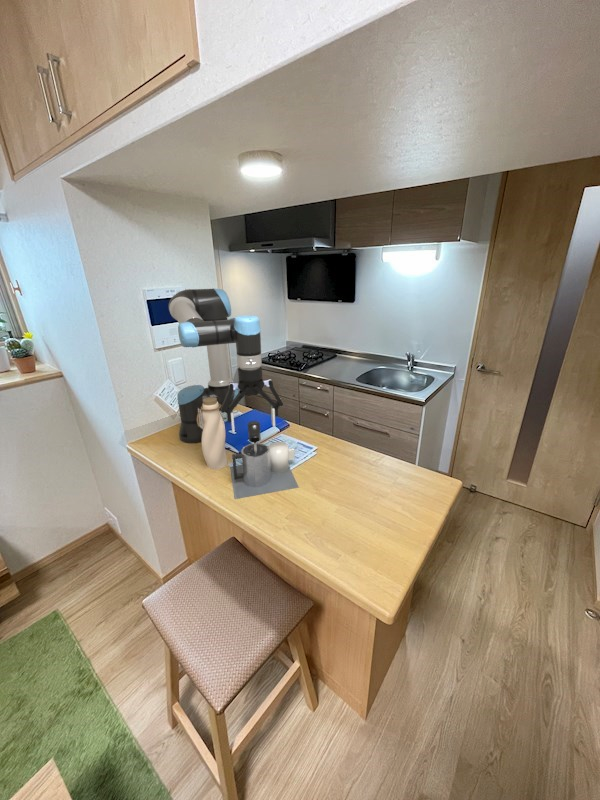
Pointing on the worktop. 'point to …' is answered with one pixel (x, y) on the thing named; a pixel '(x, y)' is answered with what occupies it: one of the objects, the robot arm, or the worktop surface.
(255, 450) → the plunger
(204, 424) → the water bottle
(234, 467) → the press carafe
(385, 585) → the worktop surface
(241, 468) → the slate board
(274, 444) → the cream mug
